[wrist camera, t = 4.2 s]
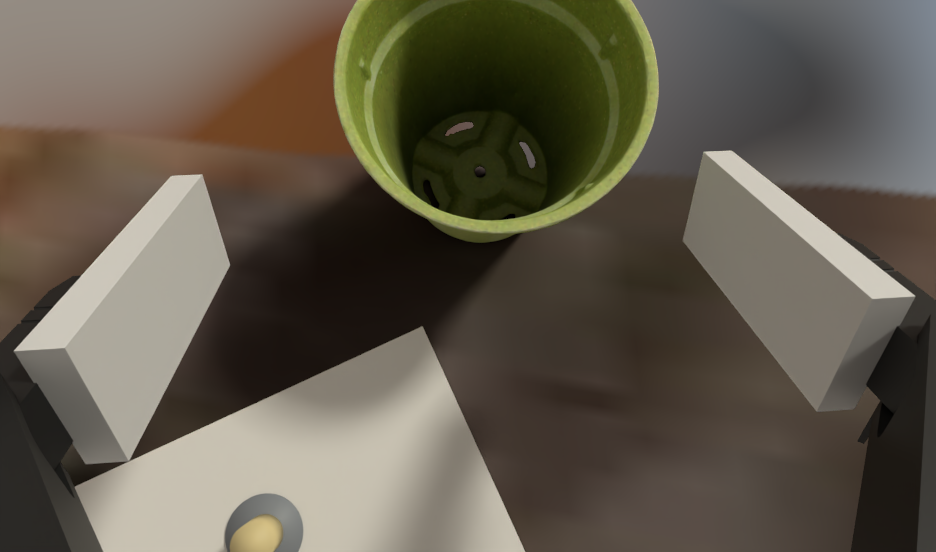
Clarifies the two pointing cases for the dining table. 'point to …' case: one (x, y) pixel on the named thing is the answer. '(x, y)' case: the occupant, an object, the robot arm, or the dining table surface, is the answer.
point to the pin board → (316, 471)
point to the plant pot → (496, 105)
